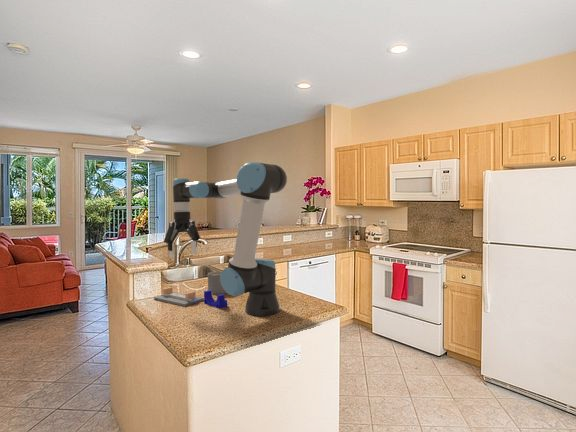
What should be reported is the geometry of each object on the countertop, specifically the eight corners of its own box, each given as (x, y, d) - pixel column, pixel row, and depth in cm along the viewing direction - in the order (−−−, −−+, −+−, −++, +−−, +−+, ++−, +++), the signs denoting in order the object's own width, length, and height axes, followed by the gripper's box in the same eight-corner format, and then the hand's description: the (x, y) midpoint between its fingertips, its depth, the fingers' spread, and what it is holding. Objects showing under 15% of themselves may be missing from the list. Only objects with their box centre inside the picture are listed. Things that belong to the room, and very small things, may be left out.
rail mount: (203, 300, 173) (203, 290, 173) (184, 306, 163) (184, 296, 162) (173, 294, 184) (173, 284, 184) (153, 299, 174) (153, 289, 174)
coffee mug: (227, 293, 186) (227, 274, 185) (208, 294, 183) (207, 275, 183) (226, 287, 199) (225, 269, 198) (207, 288, 196) (207, 270, 196)
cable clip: (227, 306, 163) (227, 293, 163) (219, 309, 160) (219, 295, 160) (212, 301, 171) (211, 289, 171) (204, 303, 168) (204, 291, 168)
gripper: (195, 210, 180) (196, 252, 180) (154, 212, 158) (156, 259, 159) (206, 210, 176) (207, 252, 177) (166, 211, 155) (167, 260, 155)
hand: (183, 255), depth 168 cm, fingers open, 13 cm apart
